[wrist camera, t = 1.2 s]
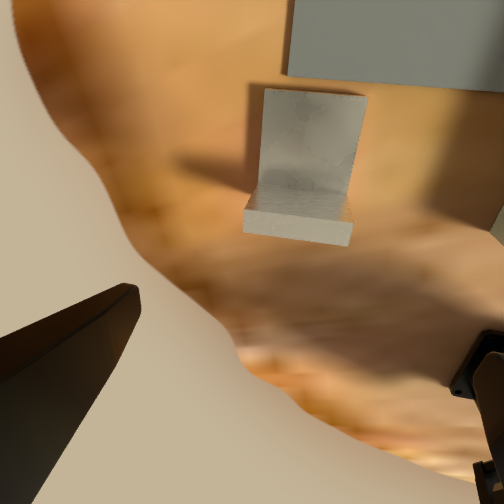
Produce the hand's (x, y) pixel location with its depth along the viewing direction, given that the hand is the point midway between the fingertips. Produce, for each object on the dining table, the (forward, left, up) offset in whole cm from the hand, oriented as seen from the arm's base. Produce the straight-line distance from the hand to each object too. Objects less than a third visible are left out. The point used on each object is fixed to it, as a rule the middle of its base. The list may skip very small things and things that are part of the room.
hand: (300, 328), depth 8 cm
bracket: (+2, 0, -12) cm, 12 cm away
